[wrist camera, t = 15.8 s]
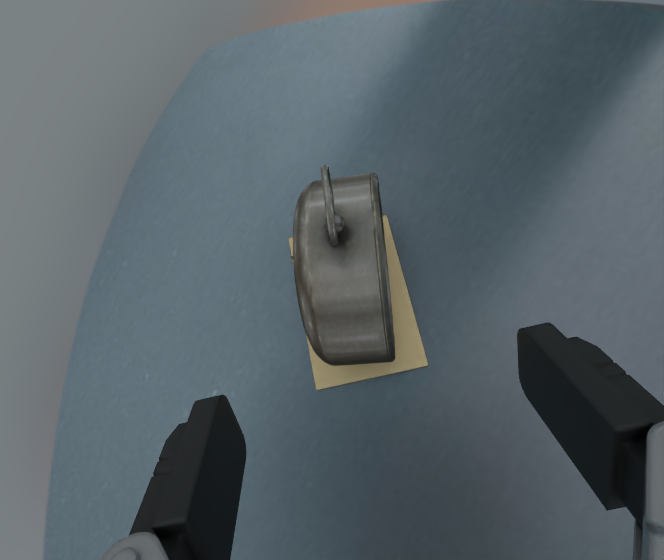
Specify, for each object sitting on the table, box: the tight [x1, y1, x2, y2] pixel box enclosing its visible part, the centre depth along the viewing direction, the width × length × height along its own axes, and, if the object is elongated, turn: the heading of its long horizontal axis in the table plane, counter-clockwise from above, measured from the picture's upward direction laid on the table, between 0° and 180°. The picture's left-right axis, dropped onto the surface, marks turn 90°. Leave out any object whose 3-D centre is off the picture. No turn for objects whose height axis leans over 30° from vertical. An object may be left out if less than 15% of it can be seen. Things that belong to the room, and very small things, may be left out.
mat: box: [289, 215, 428, 390], centre depth 31 cm, size 8×12×1 cm, turn 11°
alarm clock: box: [291, 165, 396, 366], centre depth 23 cm, size 11×5×16 cm, turn 3°
